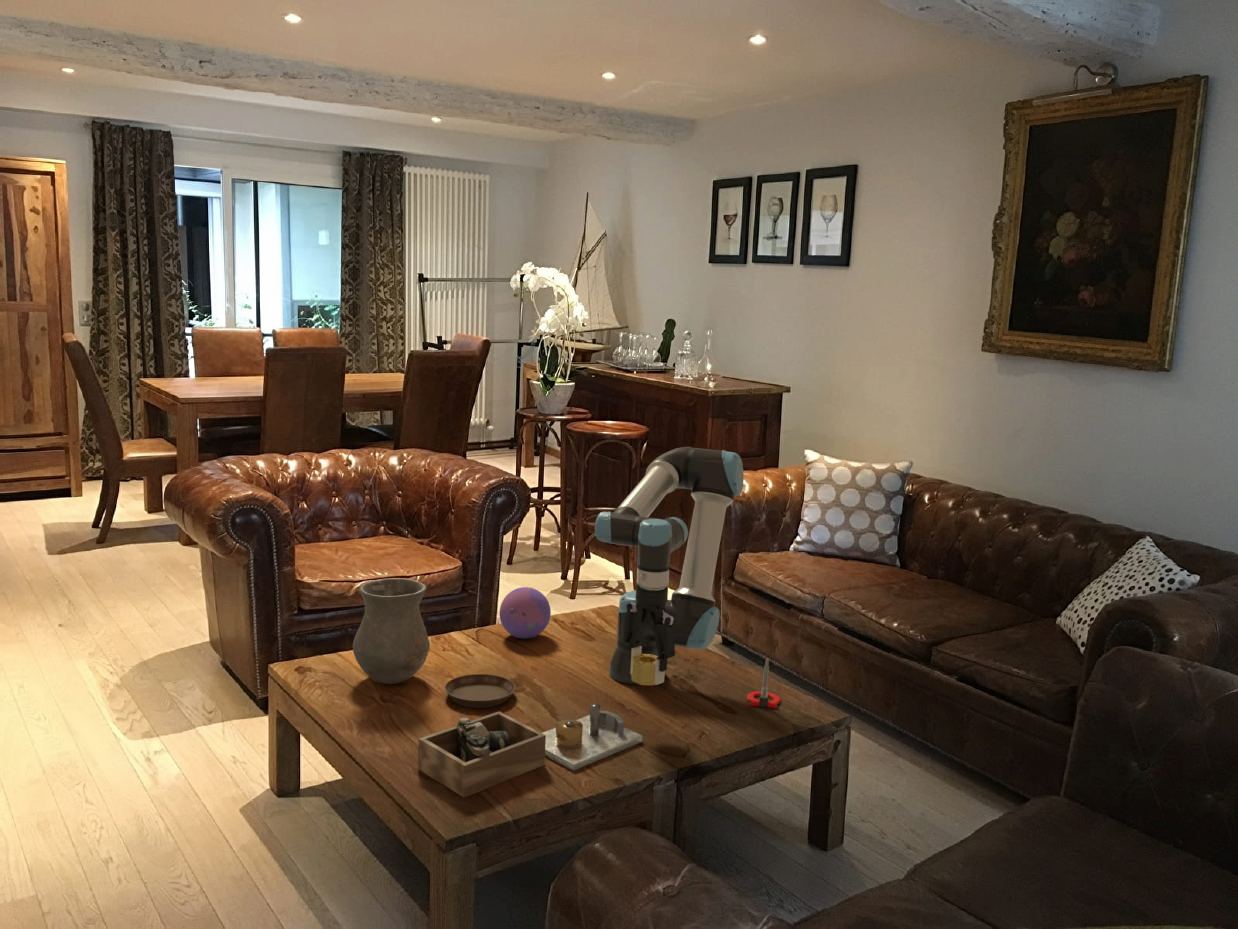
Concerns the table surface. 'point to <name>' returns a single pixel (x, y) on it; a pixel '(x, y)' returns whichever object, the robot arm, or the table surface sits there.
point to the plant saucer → (479, 690)
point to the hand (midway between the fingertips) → (647, 677)
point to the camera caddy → (487, 770)
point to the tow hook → (764, 693)
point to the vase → (391, 630)
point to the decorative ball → (525, 612)
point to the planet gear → (643, 669)
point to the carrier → (588, 738)
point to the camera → (478, 740)
